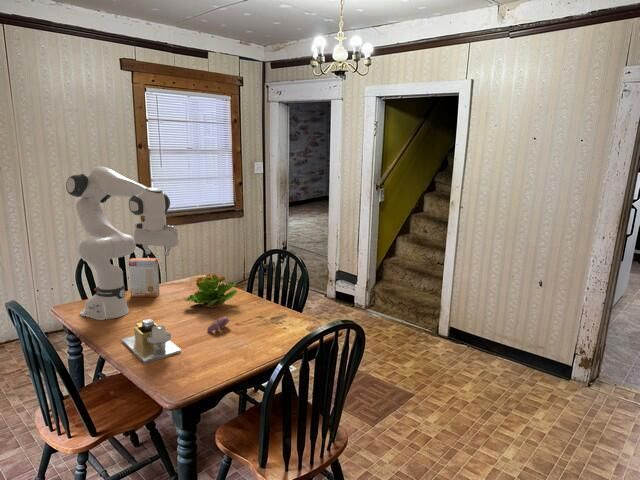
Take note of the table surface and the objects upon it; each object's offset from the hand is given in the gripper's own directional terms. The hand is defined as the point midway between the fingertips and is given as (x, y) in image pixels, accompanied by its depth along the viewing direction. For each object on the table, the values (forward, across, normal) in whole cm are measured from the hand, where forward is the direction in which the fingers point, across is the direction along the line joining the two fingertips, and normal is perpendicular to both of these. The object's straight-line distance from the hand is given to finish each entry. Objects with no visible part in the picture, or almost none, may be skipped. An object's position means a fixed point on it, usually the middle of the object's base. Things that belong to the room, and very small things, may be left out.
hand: (157, 254), depth 194 cm
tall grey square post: (+33, -7, +20) cm, 39 cm away
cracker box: (+34, +30, -33) cm, 56 cm away
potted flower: (+34, -12, -31) cm, 48 cm away
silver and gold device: (+34, -8, +21) cm, 41 cm away
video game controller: (+34, -28, -3) cm, 44 cm away
